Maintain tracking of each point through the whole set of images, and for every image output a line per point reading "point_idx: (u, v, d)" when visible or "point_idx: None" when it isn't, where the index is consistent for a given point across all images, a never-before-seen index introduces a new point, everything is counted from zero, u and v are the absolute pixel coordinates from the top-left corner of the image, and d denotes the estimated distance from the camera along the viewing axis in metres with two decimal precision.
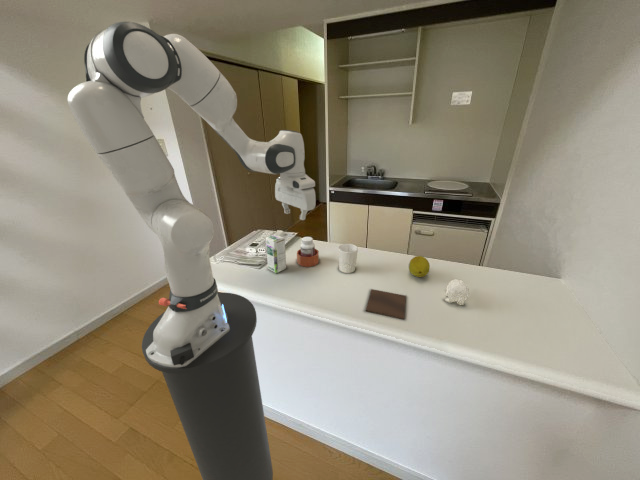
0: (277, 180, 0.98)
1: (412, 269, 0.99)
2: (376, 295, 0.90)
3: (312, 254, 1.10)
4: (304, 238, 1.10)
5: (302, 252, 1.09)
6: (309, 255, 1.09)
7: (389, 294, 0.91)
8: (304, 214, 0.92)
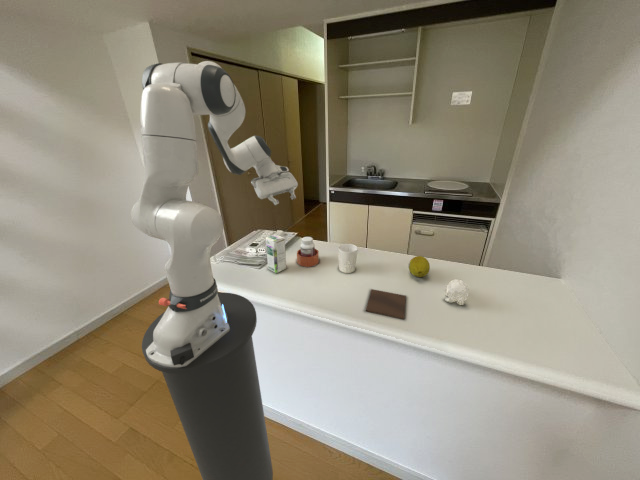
0: (253, 181, 1.04)
1: (412, 269, 0.99)
2: (376, 295, 0.90)
3: (312, 254, 1.10)
4: (304, 238, 1.10)
5: (302, 252, 1.09)
6: (309, 255, 1.09)
7: (389, 294, 0.91)
8: None
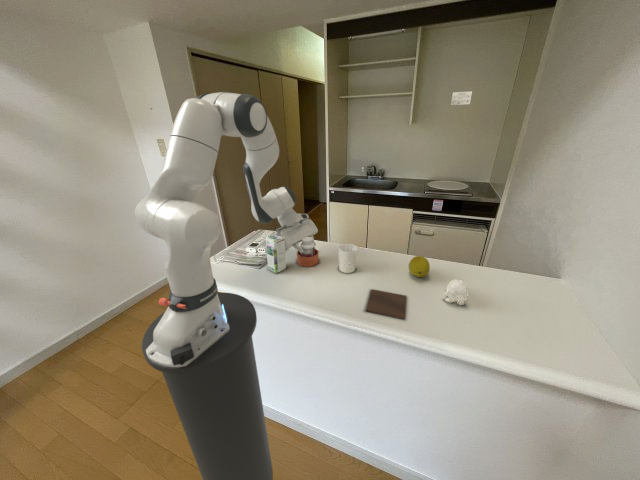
0: (277, 232, 1.05)
1: (412, 269, 0.99)
2: (376, 295, 0.90)
3: (312, 254, 1.10)
4: (304, 238, 1.10)
5: (302, 252, 1.09)
6: (309, 255, 1.09)
7: (389, 294, 0.91)
8: None
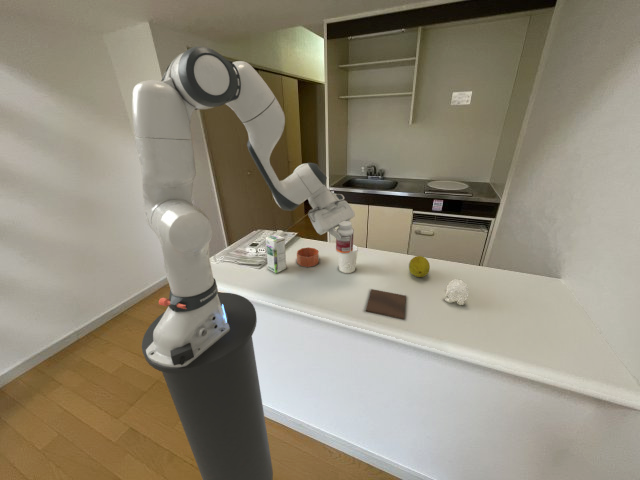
0: (311, 214, 0.86)
1: (412, 269, 0.99)
2: (376, 295, 0.90)
3: (351, 242, 0.91)
4: (341, 222, 0.90)
5: None
6: (348, 243, 0.90)
7: (389, 294, 0.91)
8: None
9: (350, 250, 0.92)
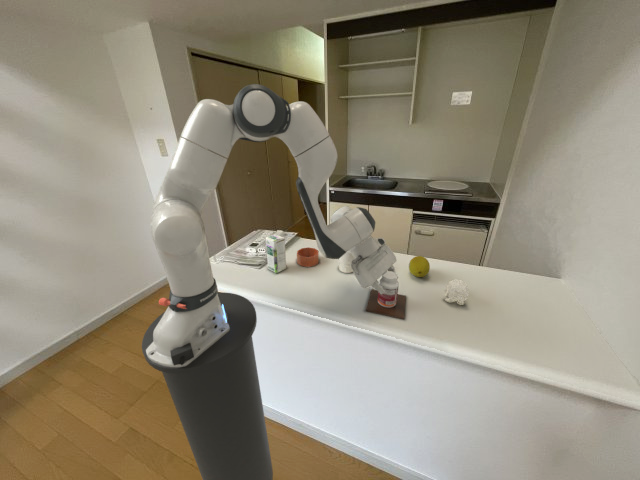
0: (354, 265, 0.77)
1: (412, 269, 0.99)
2: (376, 295, 0.90)
3: (396, 295, 0.83)
4: (386, 274, 0.82)
5: None
6: (393, 296, 0.82)
7: None
8: None
9: (394, 303, 0.84)
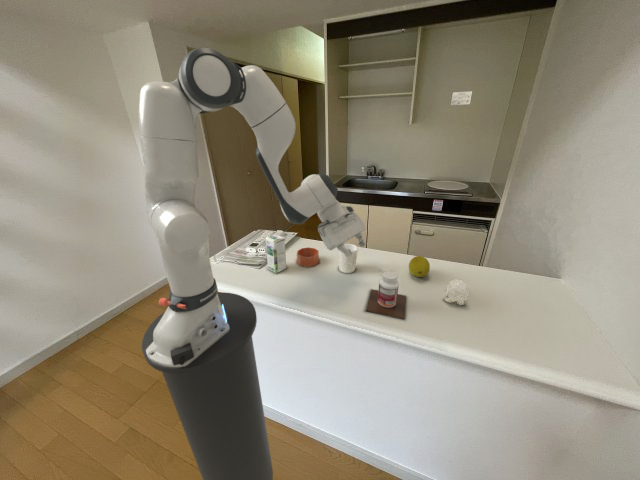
0: (320, 228, 0.81)
1: (412, 269, 0.99)
2: (376, 295, 0.90)
3: (396, 295, 0.83)
4: (386, 274, 0.82)
5: (383, 292, 0.82)
6: (393, 296, 0.82)
7: None
8: None
9: (394, 303, 0.84)
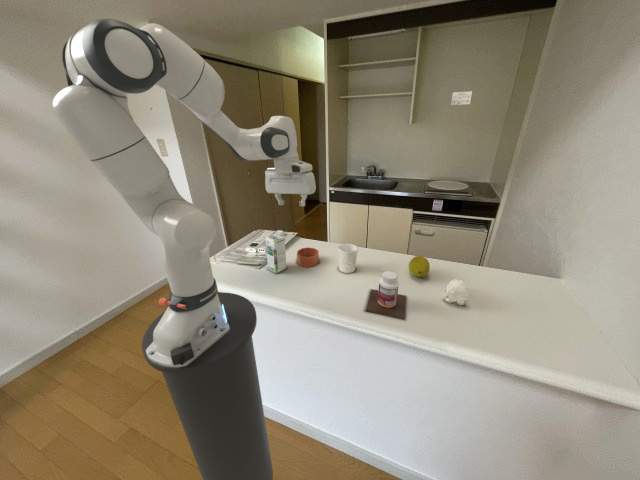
0: (266, 172, 0.95)
1: (412, 269, 0.99)
2: (376, 295, 0.90)
3: (396, 295, 0.83)
4: (385, 274, 0.82)
5: (383, 292, 0.82)
6: (393, 296, 0.82)
7: None
8: (304, 200, 0.91)
9: (394, 303, 0.84)
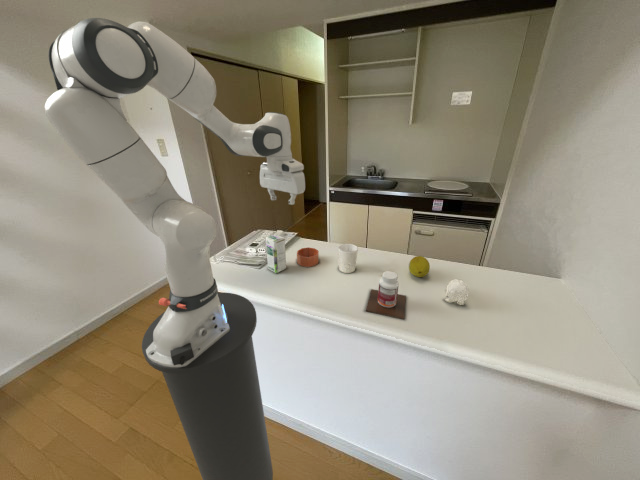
0: (261, 166, 0.96)
1: (412, 269, 0.99)
2: (376, 295, 0.90)
3: (396, 295, 0.83)
4: (385, 274, 0.82)
5: (383, 292, 0.82)
6: (393, 296, 0.82)
7: None
8: (293, 198, 0.92)
9: (394, 303, 0.84)
